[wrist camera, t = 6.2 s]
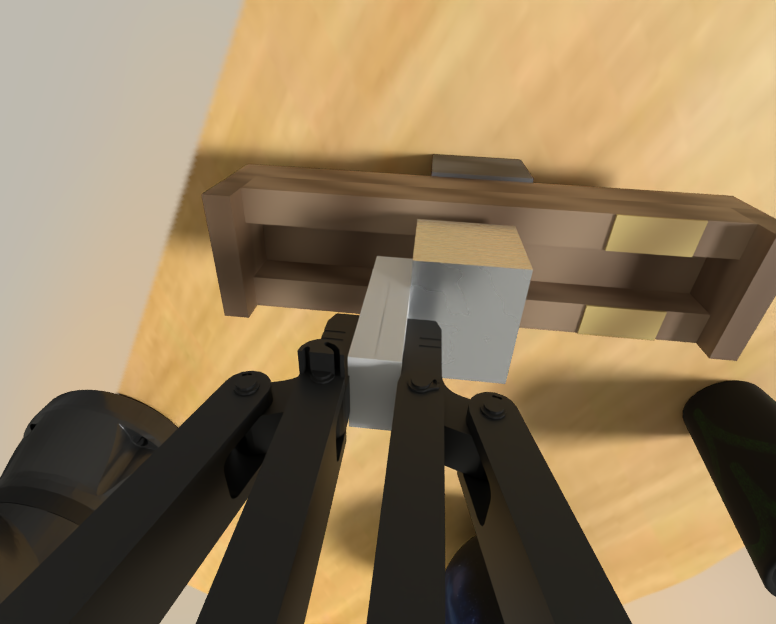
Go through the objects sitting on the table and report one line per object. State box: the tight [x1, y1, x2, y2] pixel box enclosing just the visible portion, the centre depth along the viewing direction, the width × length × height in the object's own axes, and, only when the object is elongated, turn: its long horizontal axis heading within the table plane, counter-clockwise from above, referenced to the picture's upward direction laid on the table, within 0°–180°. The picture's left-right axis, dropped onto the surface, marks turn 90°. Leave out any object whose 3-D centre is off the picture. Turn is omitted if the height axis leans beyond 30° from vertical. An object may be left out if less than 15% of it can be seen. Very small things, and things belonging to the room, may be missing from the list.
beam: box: [202, 154, 776, 361], centre depth 23 cm, size 24×6×9 cm, turn 88°
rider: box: [408, 219, 533, 384], centre depth 19 cm, size 4×5×7 cm
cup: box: [683, 381, 776, 596], centre depth 28 cm, size 8×8×12 cm
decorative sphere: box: [445, 535, 505, 624], centre depth 38 cm, size 15×15×15 cm
